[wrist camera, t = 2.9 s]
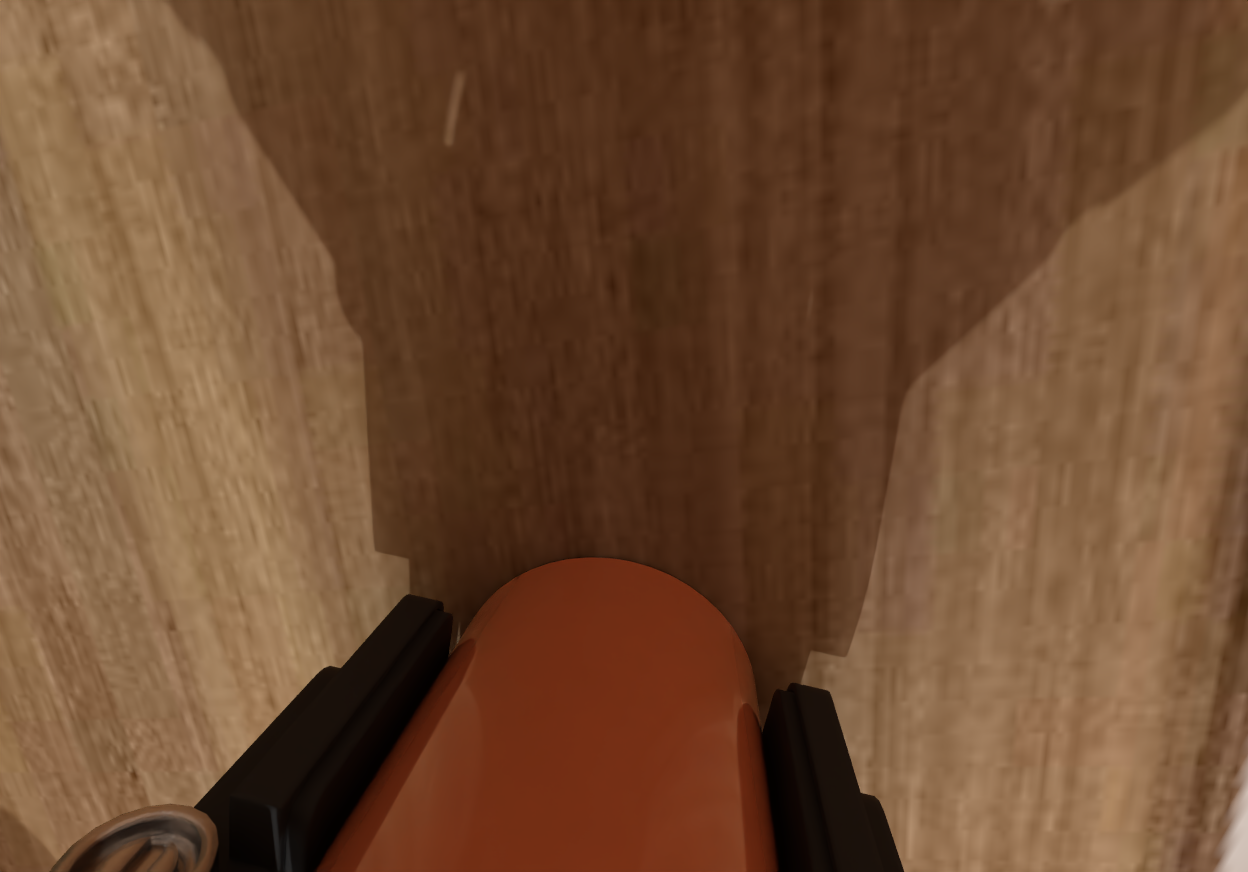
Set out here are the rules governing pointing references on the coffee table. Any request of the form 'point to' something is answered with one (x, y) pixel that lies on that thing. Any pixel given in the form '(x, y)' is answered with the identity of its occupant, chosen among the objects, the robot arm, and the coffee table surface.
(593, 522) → the coffee table surface
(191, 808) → the robot arm
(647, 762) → the canister
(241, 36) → the coffee table surface
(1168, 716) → the coffee table surface
